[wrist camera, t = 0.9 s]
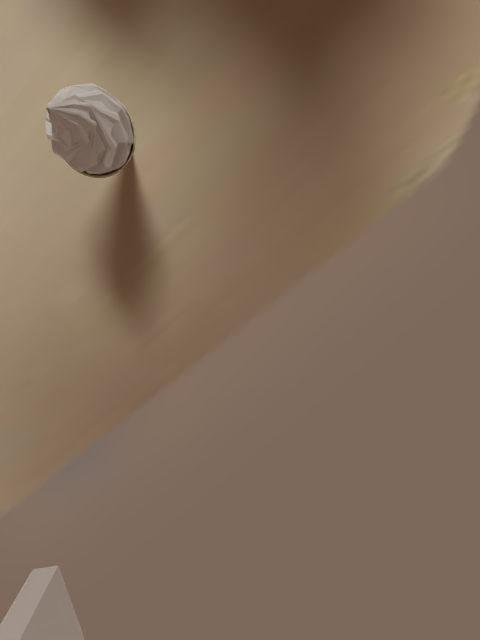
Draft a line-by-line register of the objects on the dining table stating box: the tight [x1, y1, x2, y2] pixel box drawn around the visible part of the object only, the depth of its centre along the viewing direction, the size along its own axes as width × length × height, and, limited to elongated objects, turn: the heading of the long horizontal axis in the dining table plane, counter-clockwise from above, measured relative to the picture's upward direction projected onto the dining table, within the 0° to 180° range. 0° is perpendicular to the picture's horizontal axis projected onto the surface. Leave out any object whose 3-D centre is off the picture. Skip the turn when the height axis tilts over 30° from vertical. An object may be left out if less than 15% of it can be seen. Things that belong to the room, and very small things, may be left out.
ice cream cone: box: [45, 83, 136, 178], centre depth 27 cm, size 5×5×15 cm
